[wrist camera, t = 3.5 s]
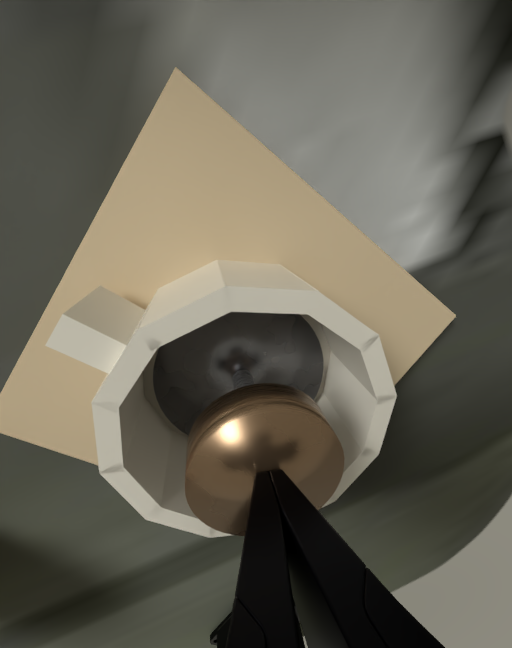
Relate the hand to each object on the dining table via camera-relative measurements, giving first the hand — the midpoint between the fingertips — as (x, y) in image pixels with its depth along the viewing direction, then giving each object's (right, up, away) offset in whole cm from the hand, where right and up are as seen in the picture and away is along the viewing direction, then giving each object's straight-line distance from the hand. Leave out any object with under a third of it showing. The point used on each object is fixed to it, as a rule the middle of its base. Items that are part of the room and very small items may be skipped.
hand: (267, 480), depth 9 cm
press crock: (-1, +3, +7) cm, 8 cm away
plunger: (-1, +2, +6) cm, 7 cm away
